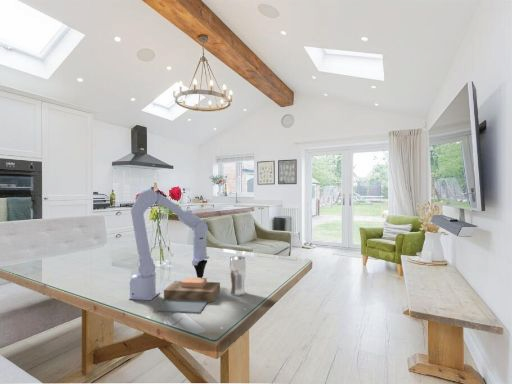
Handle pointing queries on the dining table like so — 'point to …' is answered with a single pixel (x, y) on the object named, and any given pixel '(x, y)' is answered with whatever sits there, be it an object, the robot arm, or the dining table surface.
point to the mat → (183, 306)
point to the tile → (194, 282)
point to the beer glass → (237, 275)
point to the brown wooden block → (192, 292)
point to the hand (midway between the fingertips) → (200, 277)
